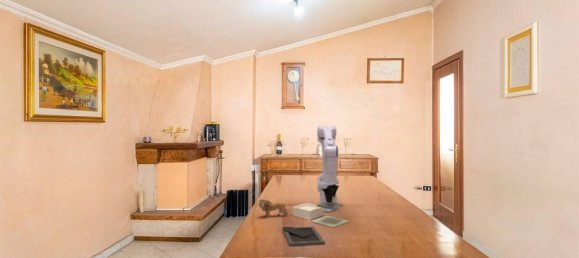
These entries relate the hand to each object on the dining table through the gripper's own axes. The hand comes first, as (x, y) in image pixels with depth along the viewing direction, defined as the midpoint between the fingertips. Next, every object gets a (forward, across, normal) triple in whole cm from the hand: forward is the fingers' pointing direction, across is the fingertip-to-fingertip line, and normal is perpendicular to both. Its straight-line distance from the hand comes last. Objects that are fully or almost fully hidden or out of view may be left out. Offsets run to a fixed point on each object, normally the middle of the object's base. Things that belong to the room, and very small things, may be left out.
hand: (330, 201), depth 146 cm
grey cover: (+2, 0, 0) cm, 2 cm away
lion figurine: (+10, +8, -27) cm, 30 cm away
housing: (+9, -4, -14) cm, 17 cm away
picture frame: (+10, +24, -1) cm, 26 cm away
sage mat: (+9, 0, 0) cm, 9 cm away
